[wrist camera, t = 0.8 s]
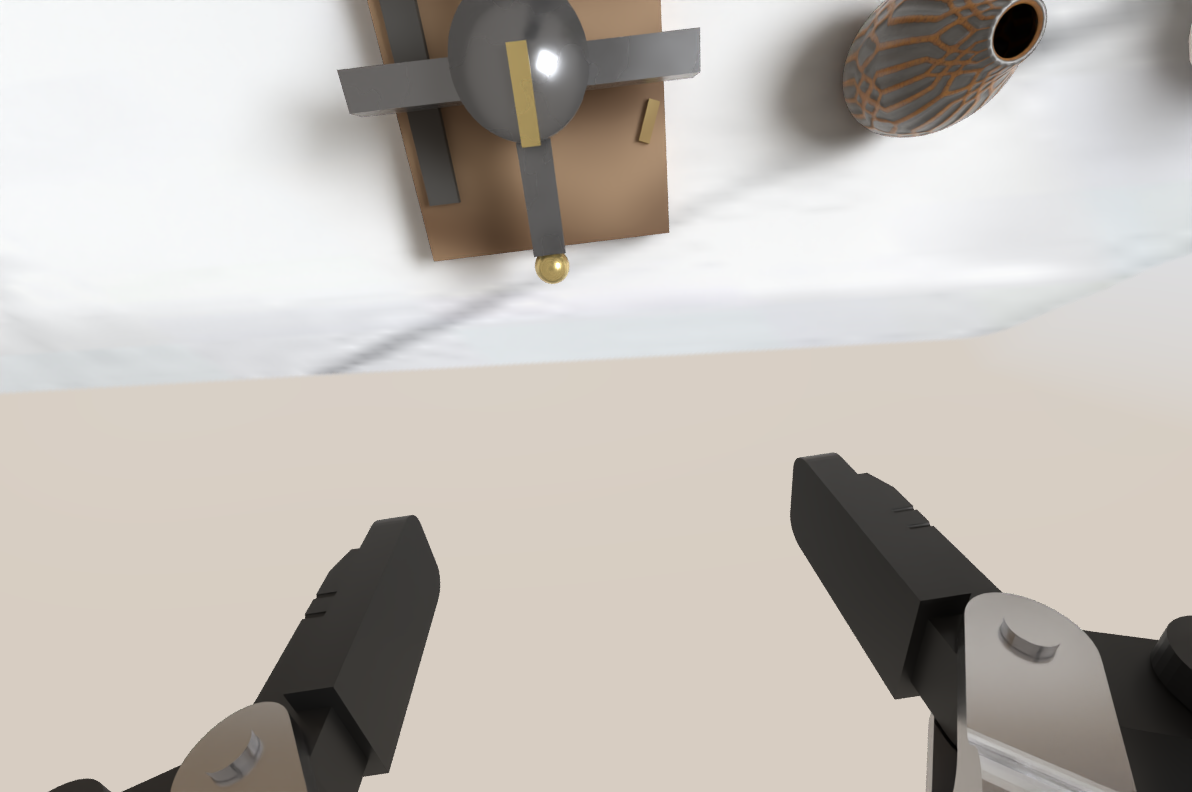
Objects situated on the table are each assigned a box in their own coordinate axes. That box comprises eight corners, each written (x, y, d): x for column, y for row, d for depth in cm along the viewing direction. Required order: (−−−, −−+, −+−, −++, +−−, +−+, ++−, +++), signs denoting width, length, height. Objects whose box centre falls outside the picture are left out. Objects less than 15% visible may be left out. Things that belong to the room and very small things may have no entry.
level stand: (357, -88, 22) (331, -120, 20) (647, -121, 22) (658, -156, 20) (441, 255, 29) (431, 263, 27) (662, 228, 29) (671, 233, 27)
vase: (848, 166, 29) (957, 164, 21) (803, 53, 26) (909, 1, 18) (957, 90, 27) (1119, 57, 19) (922, -38, 24) (1093, -137, 17)
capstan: (319, -106, 20) (228, -210, 15) (674, -146, 20) (716, -264, 15) (425, 287, 28) (391, 316, 22) (684, 255, 28) (714, 276, 22)
